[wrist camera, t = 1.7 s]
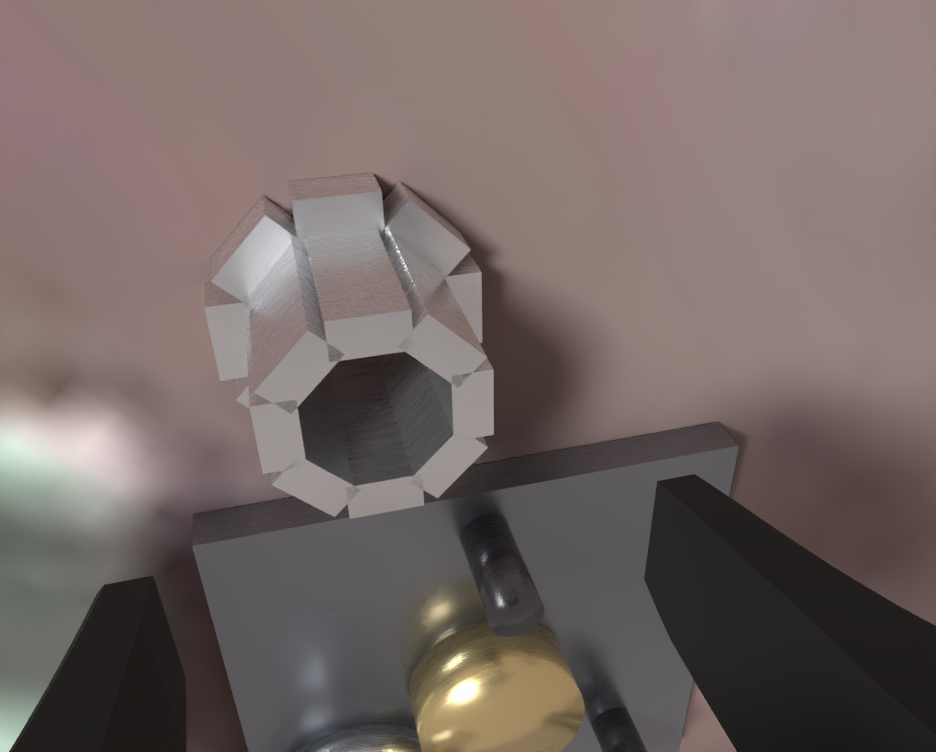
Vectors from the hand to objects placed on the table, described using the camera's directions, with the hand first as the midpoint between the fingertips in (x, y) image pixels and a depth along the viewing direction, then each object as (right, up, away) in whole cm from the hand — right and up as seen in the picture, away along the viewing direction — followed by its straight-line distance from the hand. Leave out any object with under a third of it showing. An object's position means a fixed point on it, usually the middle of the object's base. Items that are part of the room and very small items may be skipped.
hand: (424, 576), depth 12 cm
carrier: (+1, -6, +15) cm, 16 cm away
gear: (-2, +5, +7) cm, 9 cm away
